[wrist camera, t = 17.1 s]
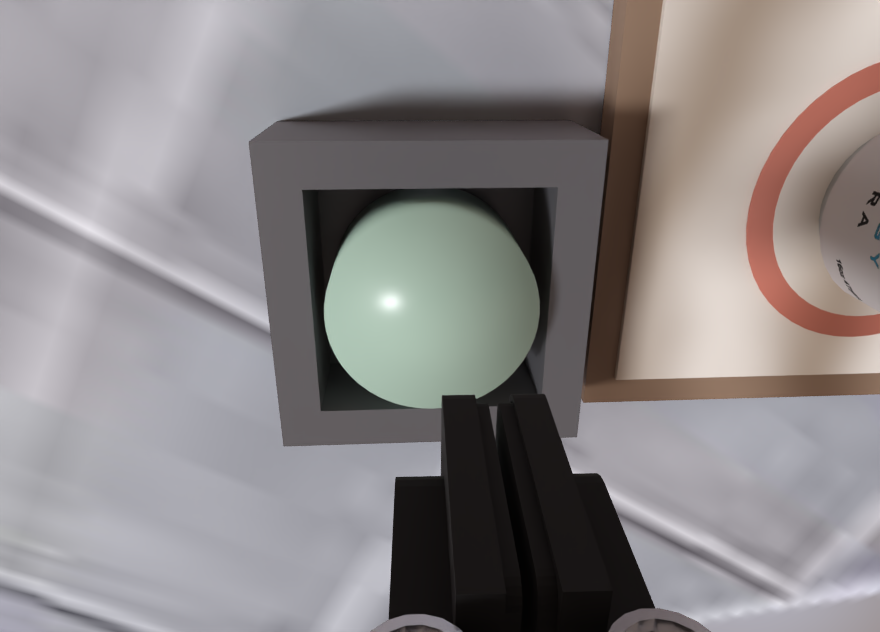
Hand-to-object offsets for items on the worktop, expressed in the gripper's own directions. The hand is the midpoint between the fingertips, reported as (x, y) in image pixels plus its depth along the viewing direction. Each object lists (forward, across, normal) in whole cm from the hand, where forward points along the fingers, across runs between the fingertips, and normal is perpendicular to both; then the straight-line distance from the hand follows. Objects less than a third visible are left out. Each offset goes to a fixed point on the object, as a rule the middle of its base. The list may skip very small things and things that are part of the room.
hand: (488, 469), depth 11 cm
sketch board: (+12, -14, -1) cm, 18 cm away
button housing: (+12, +1, 0) cm, 12 cm away
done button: (+10, +1, +1) cm, 10 cm away
